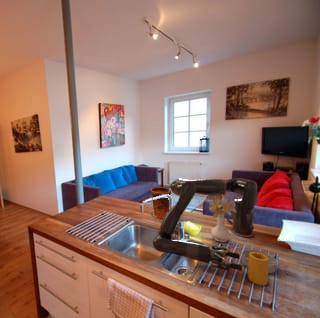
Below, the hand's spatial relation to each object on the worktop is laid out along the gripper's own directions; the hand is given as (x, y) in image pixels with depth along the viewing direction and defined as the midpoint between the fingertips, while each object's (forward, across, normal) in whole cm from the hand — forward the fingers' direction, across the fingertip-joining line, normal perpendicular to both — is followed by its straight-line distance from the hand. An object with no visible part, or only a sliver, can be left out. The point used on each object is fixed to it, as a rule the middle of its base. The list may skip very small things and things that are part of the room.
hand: (240, 262), depth 87 cm
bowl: (+8, +12, +6) cm, 16 cm away
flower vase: (-6, +29, +7) cm, 30 cm away
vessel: (-42, +50, +7) cm, 66 cm away
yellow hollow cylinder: (+6, 0, +6) cm, 9 cm away
